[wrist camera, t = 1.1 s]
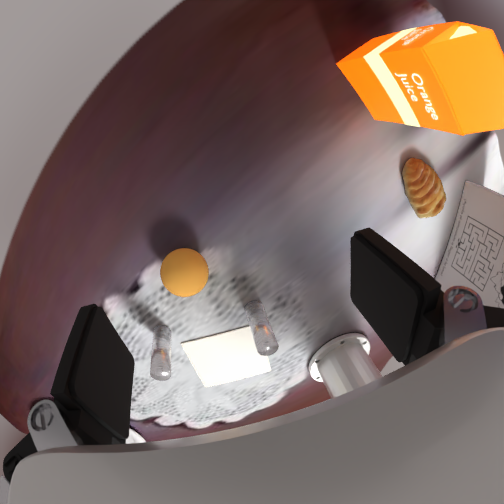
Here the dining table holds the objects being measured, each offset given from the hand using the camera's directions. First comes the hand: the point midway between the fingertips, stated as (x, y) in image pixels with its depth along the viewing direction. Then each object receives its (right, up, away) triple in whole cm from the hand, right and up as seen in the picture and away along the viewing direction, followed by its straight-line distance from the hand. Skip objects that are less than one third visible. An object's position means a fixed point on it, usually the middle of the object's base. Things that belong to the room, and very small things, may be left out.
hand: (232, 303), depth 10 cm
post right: (+1, -6, +30) cm, 30 cm away
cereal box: (+40, +5, +33) cm, 53 cm away
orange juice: (+16, +24, +18) cm, 34 cm away
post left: (-12, -10, +28) cm, 32 cm away
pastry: (+25, +12, +27) cm, 39 cm away
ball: (-7, -1, +22) cm, 23 cm away
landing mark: (-3, -15, +33) cm, 37 cm away
